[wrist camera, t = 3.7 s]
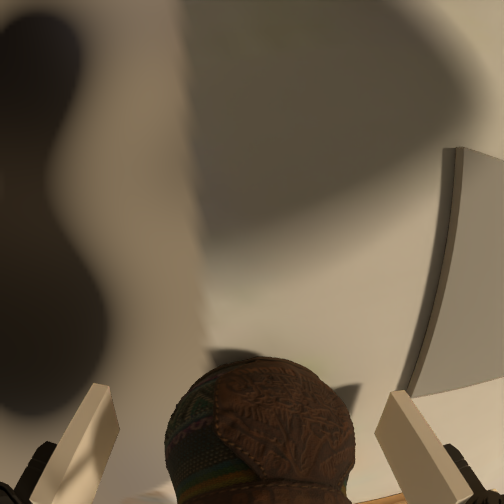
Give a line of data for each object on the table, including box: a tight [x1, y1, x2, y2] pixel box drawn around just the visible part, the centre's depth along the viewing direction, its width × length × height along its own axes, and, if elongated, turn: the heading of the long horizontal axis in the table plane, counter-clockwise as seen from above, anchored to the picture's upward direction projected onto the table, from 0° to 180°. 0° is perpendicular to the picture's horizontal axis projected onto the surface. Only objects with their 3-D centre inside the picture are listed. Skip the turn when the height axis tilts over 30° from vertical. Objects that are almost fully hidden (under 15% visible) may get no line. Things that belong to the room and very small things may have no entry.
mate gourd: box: [164, 357, 356, 504], centre depth 9 cm, size 7×8×10 cm
